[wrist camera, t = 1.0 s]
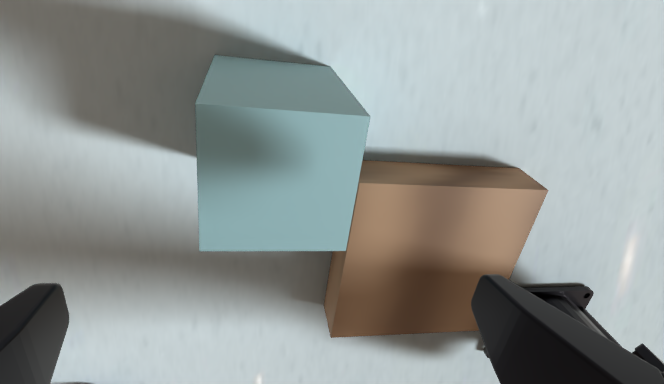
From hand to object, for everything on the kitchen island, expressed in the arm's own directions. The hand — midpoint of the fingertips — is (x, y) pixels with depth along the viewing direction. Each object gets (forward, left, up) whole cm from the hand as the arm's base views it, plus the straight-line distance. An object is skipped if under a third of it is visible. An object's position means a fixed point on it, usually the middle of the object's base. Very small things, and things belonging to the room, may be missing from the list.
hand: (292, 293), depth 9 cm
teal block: (0, 0, -12) cm, 12 cm away
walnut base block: (-9, +7, -12) cm, 17 cm away
